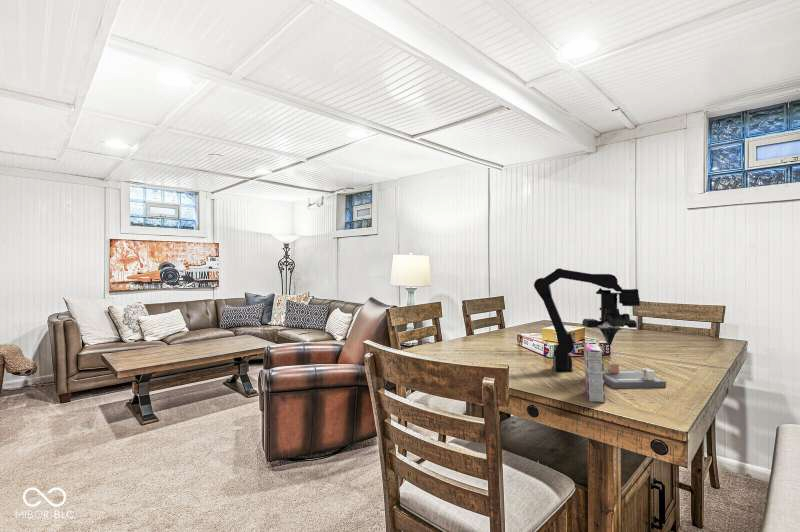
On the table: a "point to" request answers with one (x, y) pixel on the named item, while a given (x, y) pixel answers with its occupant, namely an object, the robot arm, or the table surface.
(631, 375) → the console
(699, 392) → the table surface
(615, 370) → the block
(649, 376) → the fader
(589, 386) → the candy bar box
